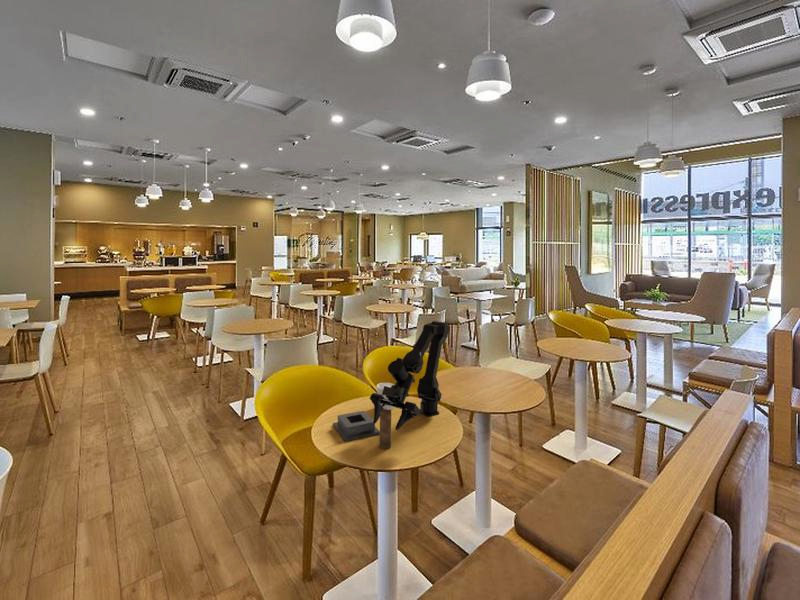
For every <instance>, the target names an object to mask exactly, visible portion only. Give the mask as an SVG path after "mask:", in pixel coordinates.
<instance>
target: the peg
mask: <svg viewBox="0 0 800 600" xmlns="http://www.w3.org/2000/svg"><path fill="white" fill-rule="evenodd" d="M379 431H380V434H379V448H380V449H382V450H389V449H390V448H391V447H392V444H391V443H392V410H386V409H385V410H381V411H380V417H379Z"/></svg>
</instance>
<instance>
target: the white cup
mask: <svg viewBox="0 0 800 600" xmlns="http://www.w3.org/2000/svg"><path fill="white" fill-rule="evenodd" d="M392 385H395V383H391V382H380V383H377V385H376V393H377V394H381V395H382V392H383V388H384V386H386V387H390V388H391V386H392ZM382 396H383V397H384V398H385V399H388V398H387V397H386V395H382ZM391 404H392V403H391ZM383 408H384V410H385V409H386V410H390V411H392V410H393V409H394V407H393V406H389V405H385V406H383ZM392 408H393V409H392Z"/></svg>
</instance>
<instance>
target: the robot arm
mask: <svg viewBox="0 0 800 600" xmlns="http://www.w3.org/2000/svg"><path fill="white" fill-rule="evenodd" d="M450 328H451V327H450V325H449V324H448V322H446V321H445V322H444V321H439V320H438V321H437V320H432V321H431V322H427V323H426V324H424V325H423V327H422V332H421V333H420V335H419V337H418V338H417V341H416V342H415V344H414V346H413V348H412V349H411V350H410V351H409V352H407V353H406V354H405V355H404V356H403V358H401V357H397V358H396V359H395V360H393V361H391V362H390V363H389V364H388V366H387V371H388V373H389V374H390V376H391V377H392V378H393V379H394V380H395V383H394V385H392V386H391V388H390V387H386V386H384V388H383V392H382V395H386V397H387V398H388V399H385V398H384V397H383V396H382V395H381V394H377V392H372V394H370V397H369V398H368V399H369V401H371V403H372V405H373V408H374V409H373V410H374V412H373V422H374V423H375V424H376V423H377V422H378V420H380V411H381V410H384V408H383V406H385V405H389V406H393V408H397V409H400V410H401V414H400V416H399V418H398V420H397V423H396V425H395V428H394V429H395V431H398V430H399V429H400V428H401V427H402V426H403V425H405V423H408V422H409V421H410V420H411V419H415V417H416V418H418V417H419V415H420V413H422V414H423V415H424V416H426V417H430V416H435V415H439V414H440V412H439V410H438V406H439V402H441V399H442V392H441V391H440V389H439V387H440V386H439V381H438V378H437V373H438V369H439V362H440V357H441V351H442V348H443V346H442V345H443V343H444V342H445V341H446V340H447V339H448V336H449V333H450V330H451V329H450ZM428 348H429V350H428V354H427V355H428V356H427V361H426V368H425V371H424V375H423V376H422V378H421V377H420V378H419V379H418V384H417V387H416V388H417V389H416V391H417V395H418V396H417V397H418V399H421V401H420V403H419V404H420V408H419V406H417V403H415V402H411V401H406V399H407V397H409V395H410V394H409V391H410V389H411V387H412V384H413V383H414V384H415V382H416V379H415V375H414V374H416V375H417V374H420V372H421V371H422V369H423V365H424V356H425V354H426V352H427V349H428ZM405 401H406V402H405ZM391 403H392V404H391Z"/></svg>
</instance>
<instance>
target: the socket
mask: <svg viewBox="0 0 800 600" xmlns="http://www.w3.org/2000/svg"><path fill="white" fill-rule="evenodd" d="M373 421H374V419H373V418H372V417H370V415H369V414H368V413H367V412H366V411H365V410H361V411H356V412H350V413H344V414H337V422H332V426H334V427H333V428H334V429H335V431H336V432H337V434H339V436H340V438H341V439H342V440H343V442H344V441H346V442H349V441H354V440H359V439H363V438H369V437H373V436H376V435H380V429H378V428H377V427H376V423H374V422H373Z"/></svg>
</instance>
